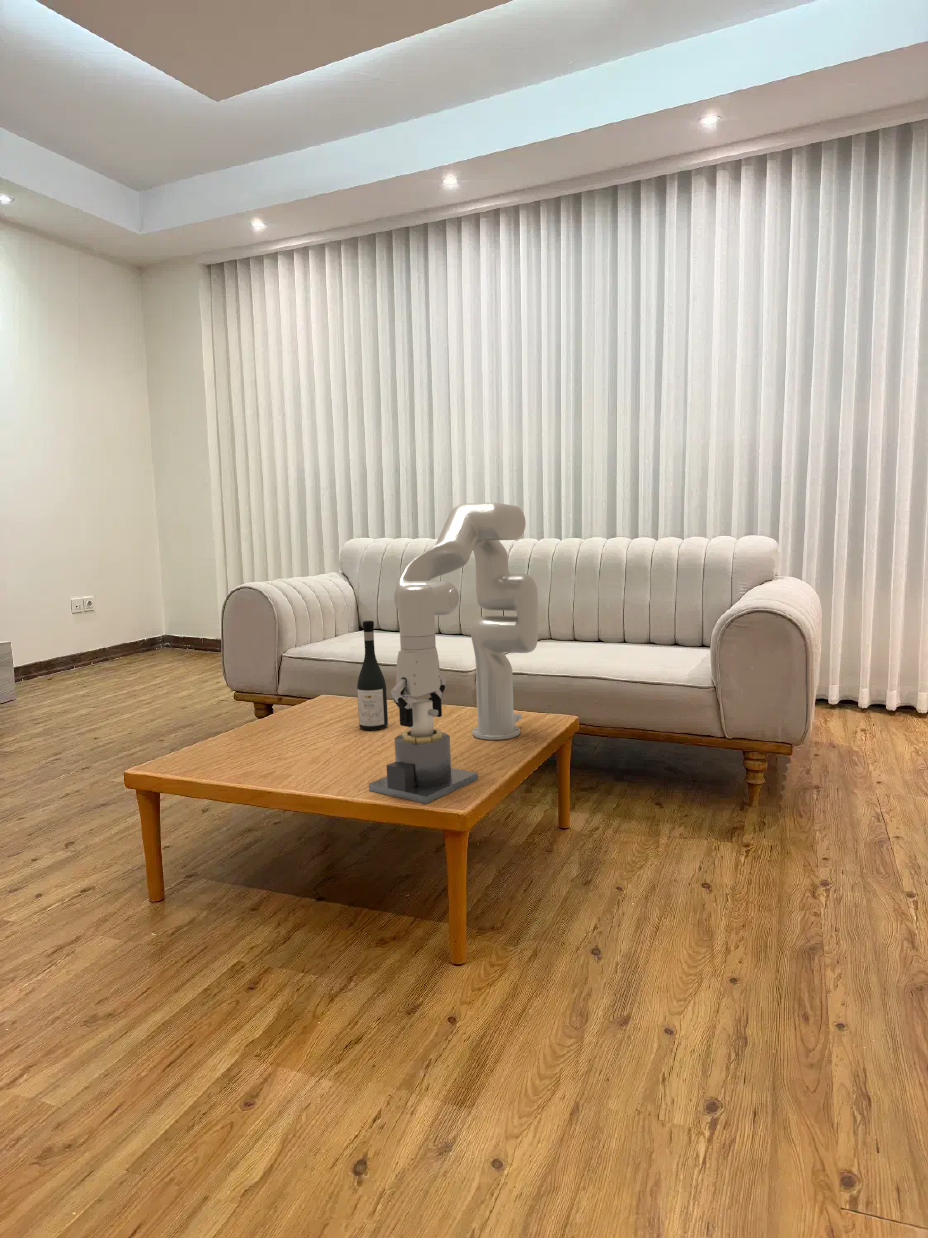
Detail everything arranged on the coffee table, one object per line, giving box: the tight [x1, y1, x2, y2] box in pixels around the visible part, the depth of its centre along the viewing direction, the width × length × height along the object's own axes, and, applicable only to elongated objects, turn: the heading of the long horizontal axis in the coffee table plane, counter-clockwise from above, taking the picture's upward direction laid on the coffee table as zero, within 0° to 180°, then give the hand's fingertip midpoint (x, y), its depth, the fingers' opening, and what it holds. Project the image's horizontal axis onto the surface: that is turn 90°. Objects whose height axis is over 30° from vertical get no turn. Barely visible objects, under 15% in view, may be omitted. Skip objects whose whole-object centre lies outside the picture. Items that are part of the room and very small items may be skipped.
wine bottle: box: [356, 620, 389, 731], centre depth 232 cm, size 8×8×30 cm
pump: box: [409, 698, 438, 737], centre depth 180 cm, size 5×7×8 cm
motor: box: [368, 727, 479, 805], centre depth 182 cm, size 18×16×12 cm
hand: (421, 721), depth 181 cm, fingers open, 9 cm apart
